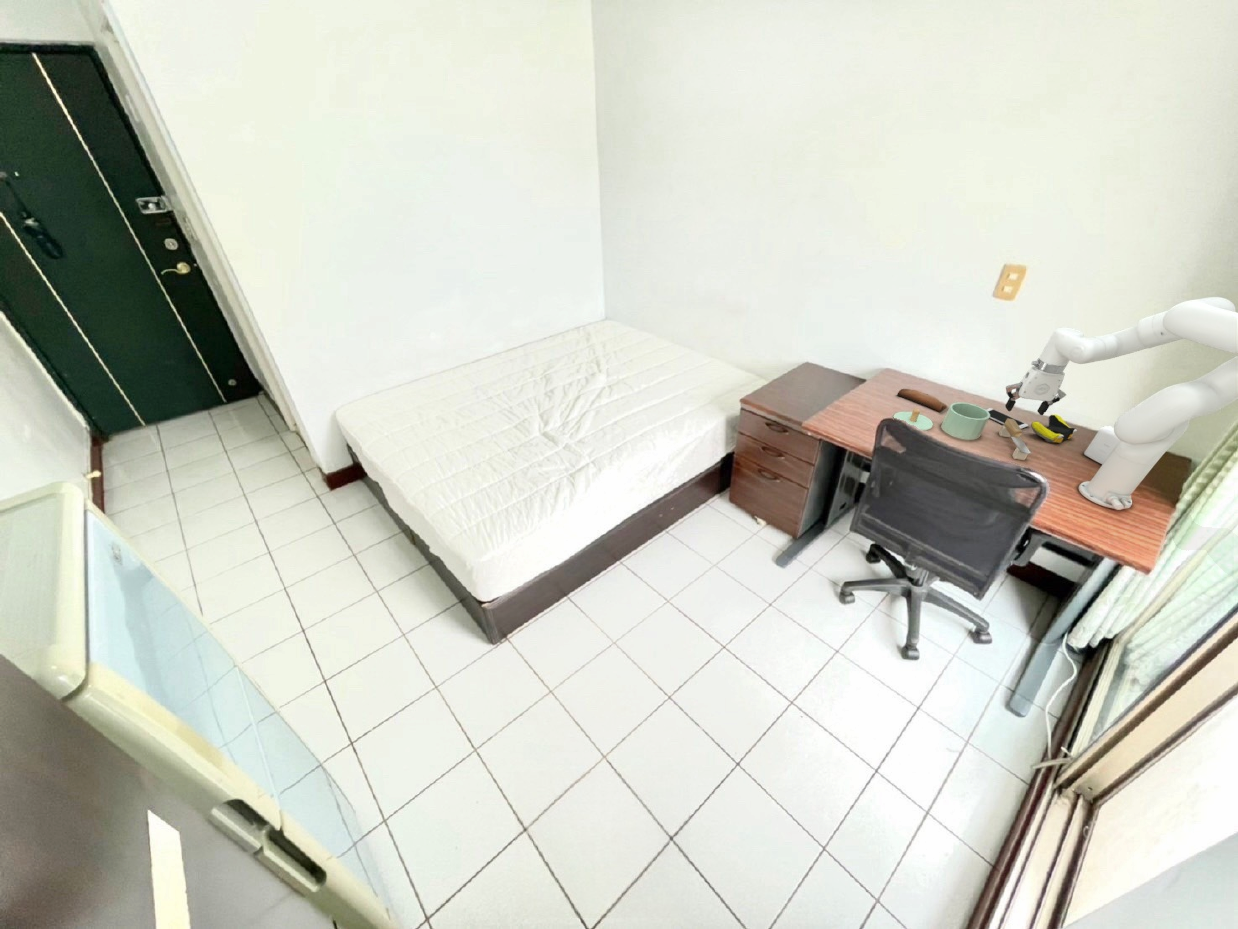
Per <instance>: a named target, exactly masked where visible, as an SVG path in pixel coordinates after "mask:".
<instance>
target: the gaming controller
mask: <svg viewBox="0 0 1238 929" xmlns="http://www.w3.org/2000/svg"><path fill="white" fill-rule="evenodd" d="M1030 428H1031V430H1032V432H1034V434H1035V435H1037V436H1038V437H1041V438H1042V439H1044V441H1045V442H1048V443H1056V444H1057V443H1058V444H1061V443H1062V442H1065V441H1066V440H1070V439H1071V438H1072V436H1073V435H1074V433H1075V432H1077V431H1078V430H1077V429H1076V427H1071V426H1069V425H1068V424H1067V422H1066V421H1065V420H1064V419H1063V418H1062V417H1061V416H1060V415H1059V414H1050V415H1049V416H1048V426H1044V425H1043V424H1042V423H1041V422H1039V421H1032V422H1031V424H1030Z"/></svg>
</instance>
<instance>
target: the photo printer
mask: <svg viewBox="0 0 1238 929" xmlns="http://www.w3.org/2000/svg"><path fill="white" fill-rule="evenodd" d="M1119 441H1120V439H1119V438H1118V437H1117V436H1116V435H1115V432H1114V426H1111V425H1104V426H1102V427H1101V428H1100V429H1098V431H1097V433H1096V434H1095V436H1094V437H1093V438H1092V440H1091V441H1090V443H1089V445H1088V446H1087V448H1086V449H1085V450H1084V452H1083V455H1084V456H1086V457H1088V458H1090V459H1091V460H1093V461H1095V462H1097V463H1098V464H1100V465H1102V464H1103V463H1104V462H1105V460H1106V459H1107V457H1108V456H1109V455H1110V453H1111V452H1112V451H1113V449H1114V448H1115V447H1116V445H1117V444H1118V443H1119Z"/></svg>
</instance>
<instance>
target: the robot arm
mask: <svg viewBox="0 0 1238 929" xmlns="http://www.w3.org/2000/svg"><path fill="white" fill-rule="evenodd" d="M1236 309H1237V308H1236V306H1235V304H1234V303H1233V302H1232V301H1231V300H1229V299H1228V298H1224V297H1221V296H1209V297H1202V298H1196V299H1189V300H1185V301H1182V302H1180V303H1176V304H1175V305H1173V306H1172V307H1170V308H1169V309H1168V310H1165V311H1161V312H1157V313H1155V314H1152V315H1147V316H1146V317H1142V318H1140V319H1139V320H1138V322H1137V323H1136V324H1134V325H1133V326H1130V327H1127V328H1123V329H1122V330H1118V331H1115V332H1111V333H1108V334H1104V335H1097V336H1091V337H1085V335H1084V332H1083V331H1081V330H1079V329H1077V328H1074V327H1066V326H1065V327H1064V326H1063V327H1058V328H1056V329H1055V330H1053V332H1052V334H1051V335H1050V337H1049V339H1048V341H1047V343H1046V344H1045V346H1044V348H1043V350H1042V352H1041V353H1040V355H1039V358H1037V360H1032V361H1031V367H1029V369H1028V370H1027V371H1026V373H1025V374H1023V375H1024V376H1023V377H1022V378H1021V379H1020V382H1017V383H1014V384H1008V385H1006V386H1005V392H1006V395H1007V397H1008V399H1007V401H1006V403H1005V408H1006V410H1007V412H1011V411H1012V410H1013V408H1014V406H1015V405H1016V400H1018V399H1020V398H1021V399H1025V400H1032V401H1033V400H1034V401H1042V402H1041V403H1040V405H1039V406H1038V409H1037V410H1036V412H1037V413H1038V414H1039V415H1040V416H1043V415H1044V414H1045V413H1046V412H1048V409H1049V408H1050V407H1051V406H1053V405H1054V404H1056V403H1057V402H1060V401H1061V400H1062V399H1063V398H1065V397H1066V396H1067V393H1066V392H1064V390H1062V389H1060V388H1061V386H1062V384H1063V381H1064V379H1065V374H1066V373H1065V372H1064V371H1065V370H1066V367H1067V366H1068V364H1069V363H1070V362H1071V363H1074V364H1078V365H1083V364H1085V365H1086V364H1090V363H1095V362H1100V361H1106V360H1111V359H1115V358H1118V357H1119V358H1120V357H1122V356H1126V355H1130V354H1133V353H1136V352H1141V351H1143V350H1147V349H1152V348H1156V347H1159V346H1162V345H1166V344H1170V343H1173V342H1177V341H1180V340H1187V341H1190V342H1193V343H1196V344H1200V345H1203V346H1206V347H1209V348H1212V349H1215V350H1219V351H1222V352H1226V353H1231V354H1238V312H1237V310H1236ZM1013 390H1015V391H1013ZM1012 391H1013V392H1012ZM1237 400H1238V355H1236V356H1234V357H1232V358H1230V359H1229V360H1227V361H1225V362H1223V363H1221V364H1220V365H1219V366H1217V367H1215V368H1213V369H1212V370H1211V371H1209V372H1207V373H1205V374H1204V375H1202V376H1200V377H1198V378H1195V379H1192V380H1189V381H1188V380H1187V381H1184V382H1180V383H1176V384H1172V385H1169V386H1167V387H1164V388H1162V389H1160V390H1159V391H1156V392H1155V393H1154V394H1152V395H1150V396H1149V397H1147V398H1146V399H1143V400H1142V401H1141V402H1139V403H1137V404H1136V405H1135V406H1133V407H1132V408H1130V409H1128V410H1127V411H1125V412H1124V413H1122V414H1121V415H1120V416H1119V417H1118V418H1117V419H1116V421H1115V423H1114V426H1113V427H1114V432H1115V435H1116V436H1117V437H1118V438H1119V439H1120V441H1119V443H1118V444H1117V445H1116V447H1115V448H1114V449H1113V451H1112V452H1111V453H1110V455H1109V456H1108V457H1107V459H1106V460H1105V462H1104V463H1103V464H1101V466H1100V468H1099V469H1098V470H1097V471H1096V472H1095V474H1094V475H1093V477H1092V478H1091V480H1089V481H1088V480H1087V481H1083V482H1081V483H1080V484H1079V485H1078V491H1079V493H1080V494H1081V495H1082V496H1083V497H1084V498H1086V499H1087V500H1088V501H1090V502H1092V503H1094V504H1096V505H1099V506H1101V507H1104V508H1108V509H1112V510H1113V509H1114V510H1115V511H1121V510H1127V509H1130V508H1131V506H1132V504H1133V500H1132V498H1133V497H1132V494H1133V493H1134V492H1135V490H1136V489H1138V488H1137V487H1138V486H1139V485H1140V484H1141V483H1142V481H1143V480H1144V479H1145V478H1146V477H1147V475H1148V474H1149V473H1150V472H1151V470H1152V469H1153V468H1154V466H1155V465H1156V464H1157V463H1158V461H1159V460H1160V459H1161V458H1162V457H1163V455H1164V454H1166V452H1167V451H1168V450H1169V449H1170V448H1171V447H1172V446H1173V445H1174V444H1175V443H1176V442H1177V441H1178V440H1179V439H1180V438H1181V437H1182V436H1183V435H1184V434H1185V433H1186V431H1187V430H1188V429H1189V426H1190V421H1191V420H1193V419H1197V418H1201V417H1205V416H1209V415H1211V414H1215V413H1217V412H1219V411H1220V410H1222V409H1224V408H1225V407H1228V405H1230V404H1232V403H1233V402H1236V401H1237Z"/></svg>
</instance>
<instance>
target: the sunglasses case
mask: <svg viewBox="0 0 1238 929" xmlns="http://www.w3.org/2000/svg"><path fill="white" fill-rule="evenodd" d="M897 396H898V397H900V398H903V399H906V400H907V399H908V400H911V401H912V402H915V403H917V404H920V405H923V406H925V407H927V408H931V409H933V410H935V411H937V412H939V413H941V412H943V411H945V410H946V409H947V408H949V407H948V405H947V404H945V403H944V402H943V401H940V399H939V398H937V397H935V396H932V395H930V394H928V393H925V392H922V391H919V390H917V389H911V388H901V389H900V390H899V391H898V392H897Z"/></svg>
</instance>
